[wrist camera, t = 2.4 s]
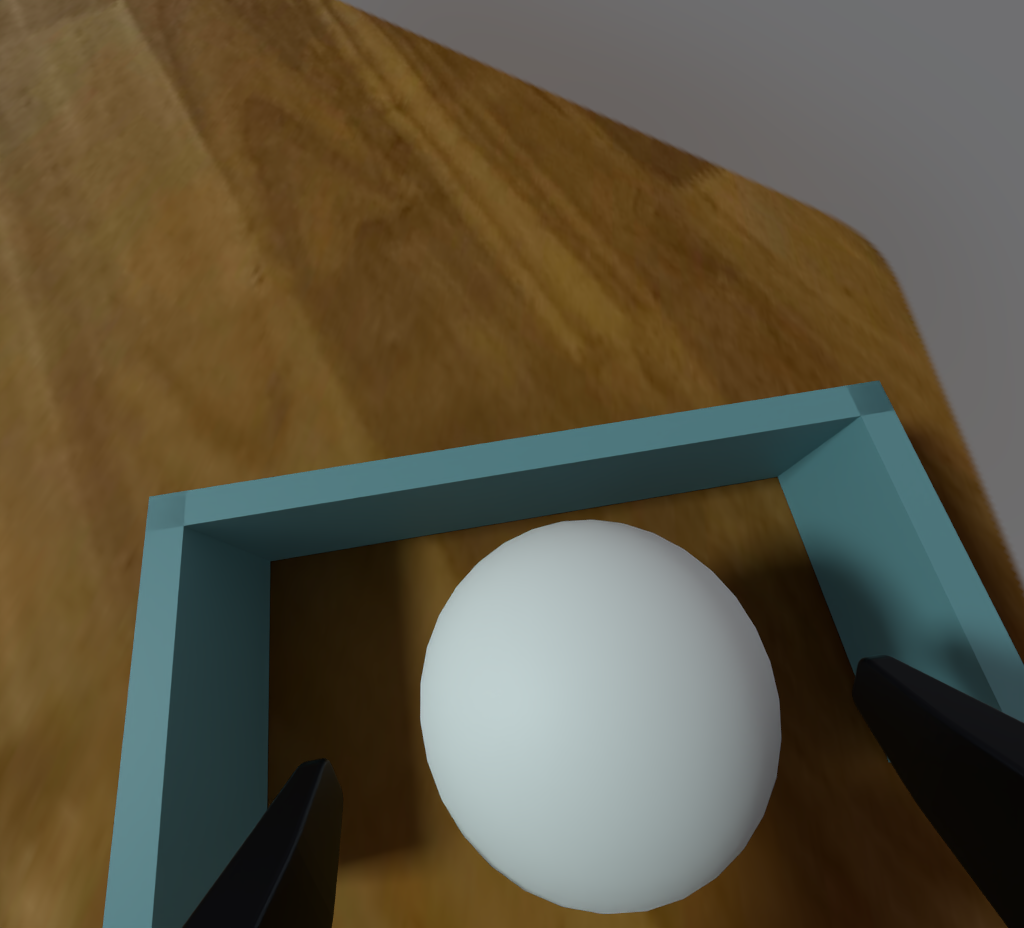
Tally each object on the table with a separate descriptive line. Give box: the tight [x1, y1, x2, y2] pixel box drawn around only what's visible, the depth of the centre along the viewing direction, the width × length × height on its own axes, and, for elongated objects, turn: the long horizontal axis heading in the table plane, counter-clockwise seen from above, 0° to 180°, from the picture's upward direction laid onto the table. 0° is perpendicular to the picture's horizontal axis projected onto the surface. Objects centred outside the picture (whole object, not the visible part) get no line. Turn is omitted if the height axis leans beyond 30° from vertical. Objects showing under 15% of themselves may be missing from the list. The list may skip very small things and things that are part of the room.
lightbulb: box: [420, 520, 782, 914], centre depth 11 cm, size 6×6×11 cm
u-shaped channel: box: [103, 381, 1024, 928], centre depth 15 cm, size 10×21×5 cm, turn 99°
